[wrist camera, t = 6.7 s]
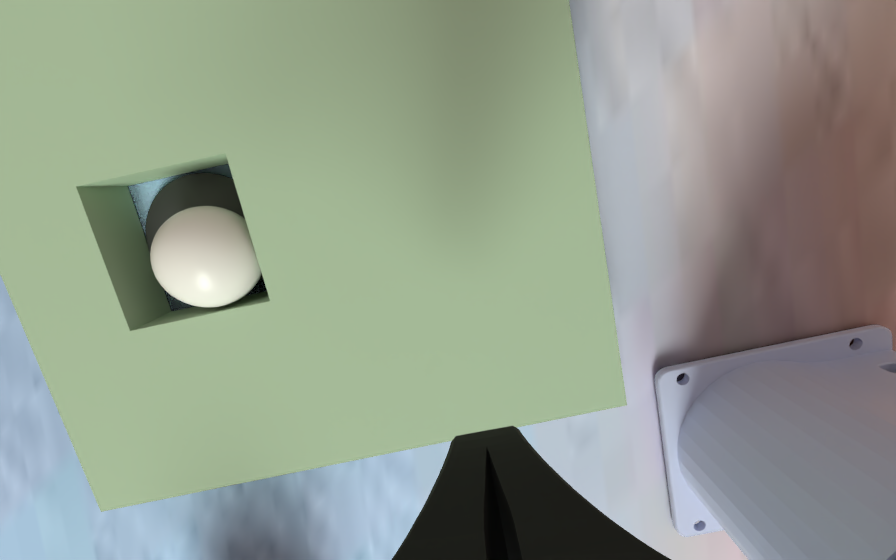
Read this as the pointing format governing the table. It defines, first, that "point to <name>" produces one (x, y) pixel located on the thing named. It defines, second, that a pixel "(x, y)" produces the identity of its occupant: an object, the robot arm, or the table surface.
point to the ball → (205, 257)
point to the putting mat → (302, 229)
